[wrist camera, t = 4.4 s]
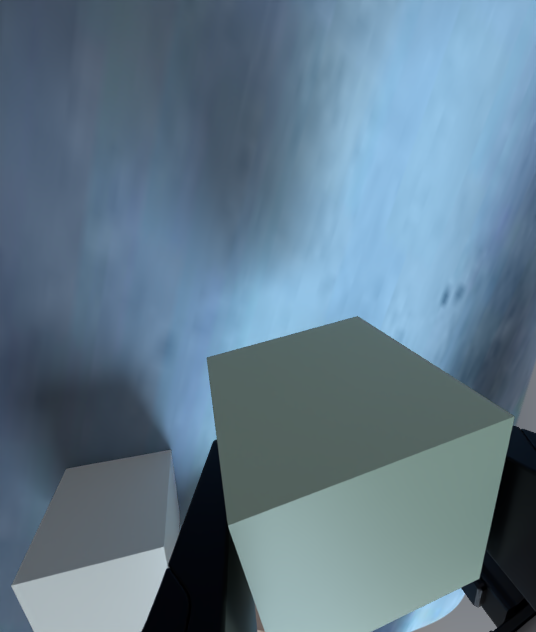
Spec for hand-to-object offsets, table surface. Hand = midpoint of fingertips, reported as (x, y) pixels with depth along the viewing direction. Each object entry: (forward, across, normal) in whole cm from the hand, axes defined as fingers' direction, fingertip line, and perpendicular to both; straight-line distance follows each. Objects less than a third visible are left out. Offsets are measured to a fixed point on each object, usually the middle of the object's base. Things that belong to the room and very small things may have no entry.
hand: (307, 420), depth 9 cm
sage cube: (+1, 0, 0) cm, 1 cm away
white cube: (+6, +9, +7) cm, 13 cm away
